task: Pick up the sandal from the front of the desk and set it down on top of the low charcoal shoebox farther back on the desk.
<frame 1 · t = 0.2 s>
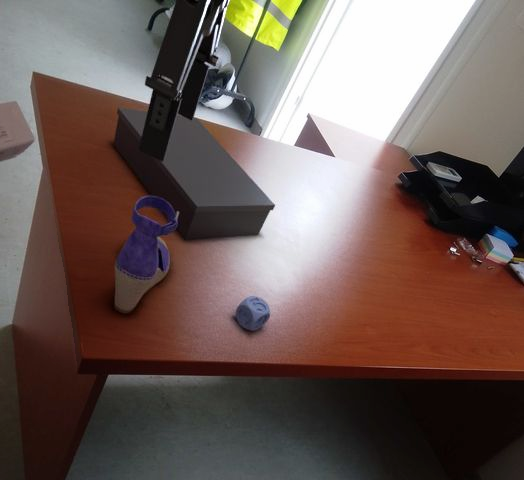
hand: (168, 133, 53), 24 cm above the table, tool pointing down, fingers open, 13 cm apart
shoebox: (185, 189, 93), on the table
sandal: (136, 275, 71), on the table
decorative dice: (247, 322, 75), on the table
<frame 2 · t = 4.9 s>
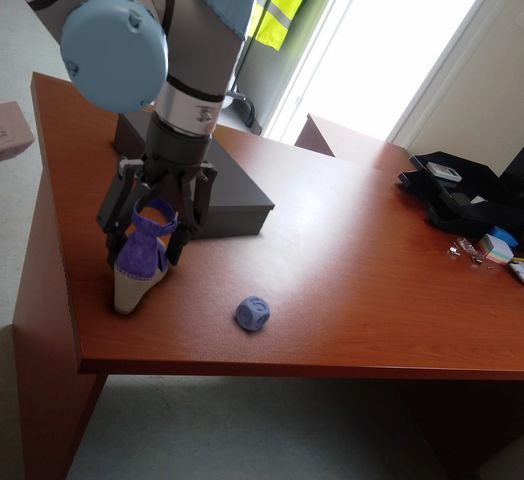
hand: (142, 263, 70), 2 cm above the table, tool pointing down, fingers closed on sandal, 9 cm apart
sandal: (135, 275, 71), on the table, touching gripper
everything else where it was.
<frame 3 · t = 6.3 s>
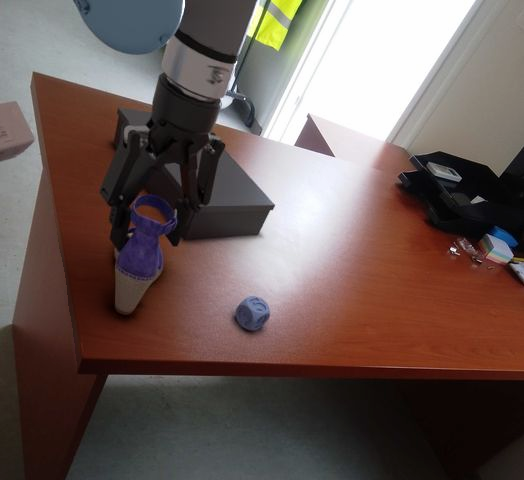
hand: (144, 242, 67), 6 cm above the table, tool pointing down, fingers open, 8 cm apart
sandal: (132, 274, 70), on the table, touching gripper
everything else where it was.
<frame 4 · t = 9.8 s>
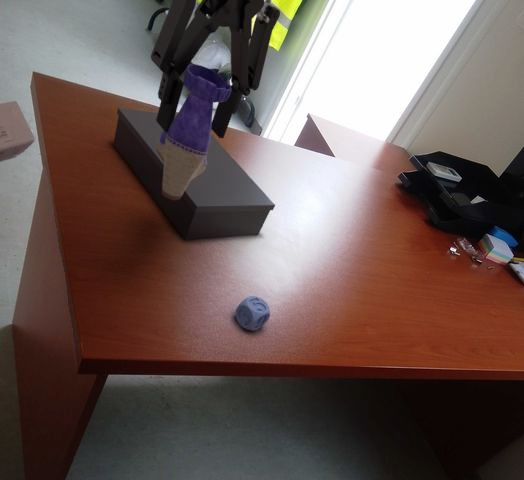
hand: (191, 129, 64), 20 cm above the table, tool pointing down
sandal: (175, 169, 67), point 14 cm above the table, touching gripper
everything else where it was.
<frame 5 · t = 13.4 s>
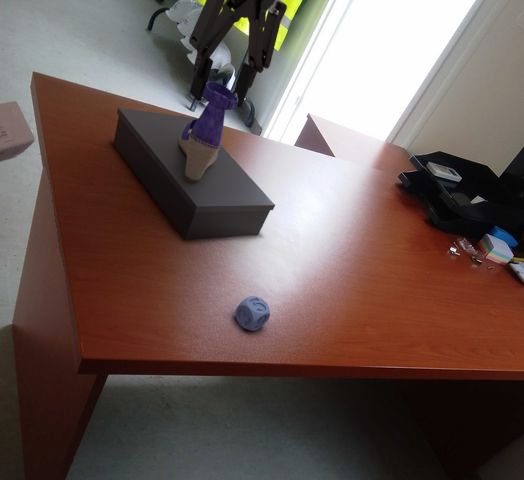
hand: (216, 100, 81), 18 cm above the table, tool pointing down, fingers open, 8 cm apart
sandal: (193, 159, 88), point 7 cm above the table, touching shoebox
everything else where it was.
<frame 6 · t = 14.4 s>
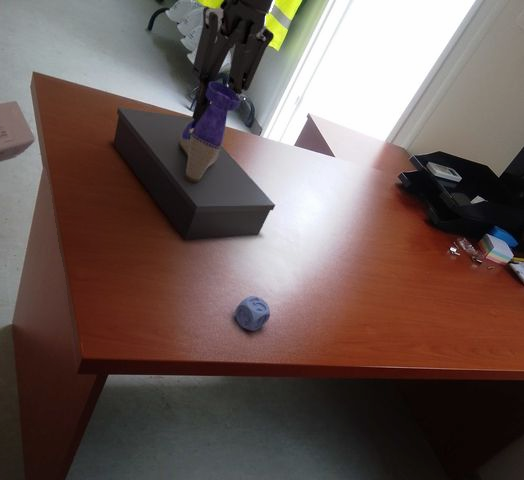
hand: (206, 122, 84), 14 cm above the table, tool pointing down, fingers open, 3 cm apart
sandal: (194, 159, 87), point 7 cm above the table, touching gripper
everything else where it was.
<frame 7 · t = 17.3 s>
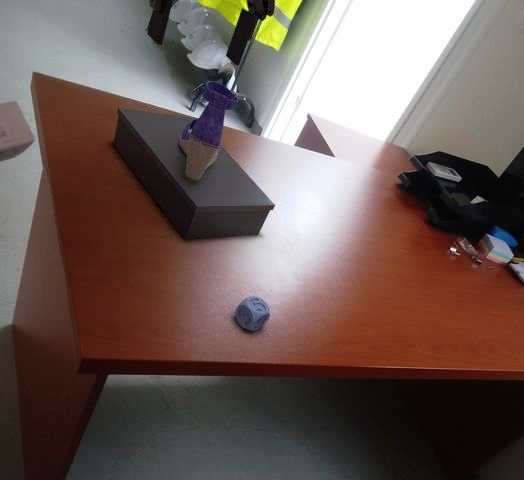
hand: (195, 51, 65), 27 cm above the table, tool pointing down, fingers open, 13 cm apart
sandal: (193, 159, 88), point 7 cm above the table, touching shoebox
everything else where it was.
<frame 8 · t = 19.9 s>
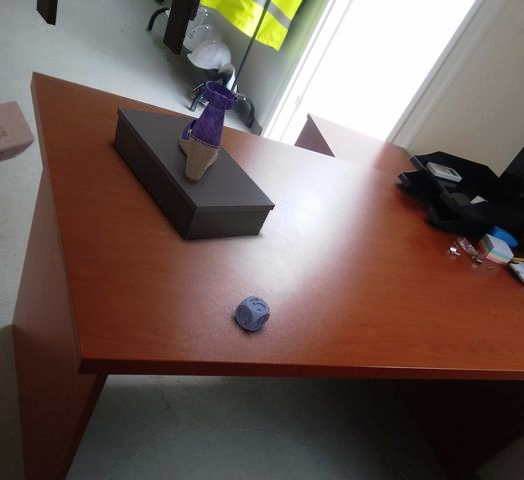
hand: (114, 35, 47), 31 cm above the table, tool pointing down, fingers open, 13 cm apart
nothing on the table moved.
at the end: sandal inside the target area on the shoebox (1.5 cm from its centre), point 7.2 cm above the shoebox's base; sandal tilted 0°; the gripper is holding nothing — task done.
